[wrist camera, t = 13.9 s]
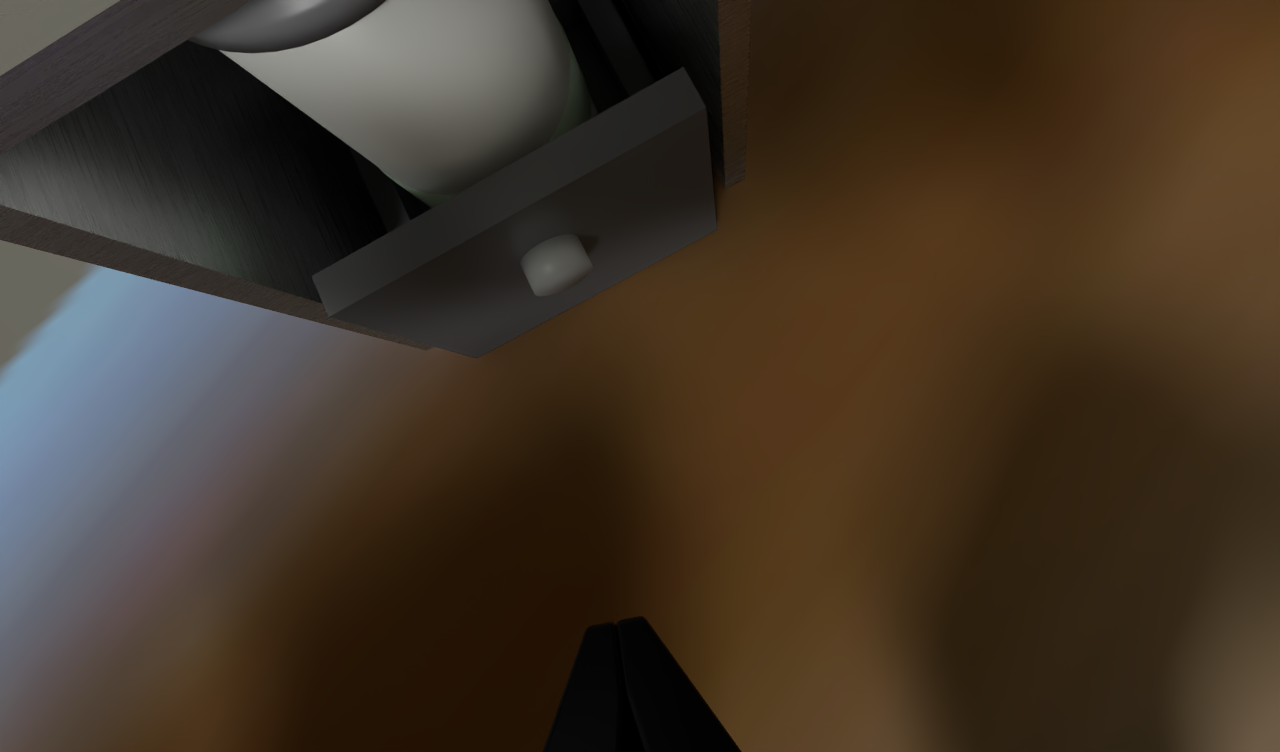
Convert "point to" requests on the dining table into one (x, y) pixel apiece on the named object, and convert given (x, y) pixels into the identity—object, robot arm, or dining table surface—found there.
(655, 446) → the dining table surface
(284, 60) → the cup
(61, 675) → the dining table surface
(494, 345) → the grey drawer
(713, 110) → the caddy
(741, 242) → the dining table surface
